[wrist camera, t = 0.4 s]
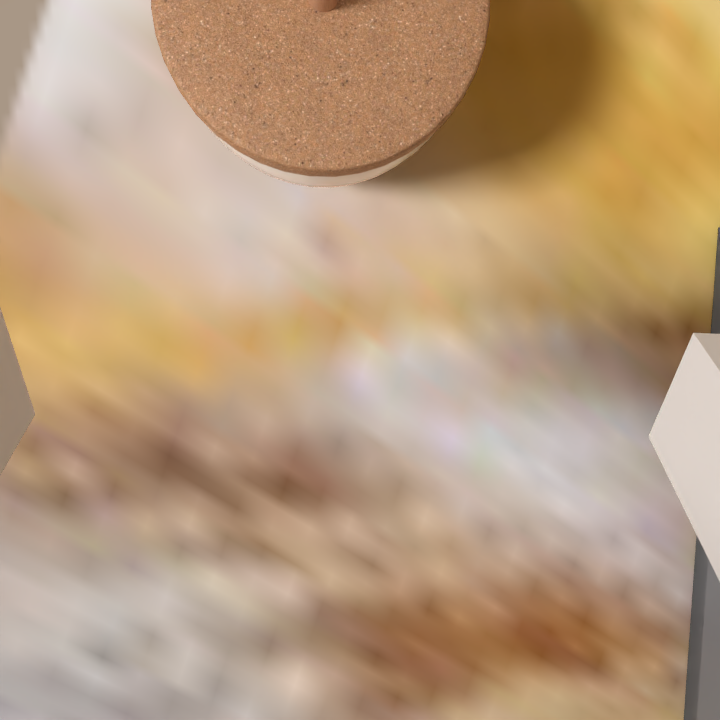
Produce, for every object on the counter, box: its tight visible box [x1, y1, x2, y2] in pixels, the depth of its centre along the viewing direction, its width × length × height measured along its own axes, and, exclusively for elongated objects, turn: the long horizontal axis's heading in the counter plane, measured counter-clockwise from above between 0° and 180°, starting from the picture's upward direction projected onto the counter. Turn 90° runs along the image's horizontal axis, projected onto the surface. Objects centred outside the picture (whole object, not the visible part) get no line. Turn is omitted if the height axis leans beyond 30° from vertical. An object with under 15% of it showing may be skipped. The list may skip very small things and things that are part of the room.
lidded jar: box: [151, 0, 490, 187], centre depth 24 cm, size 11×11×9 cm
